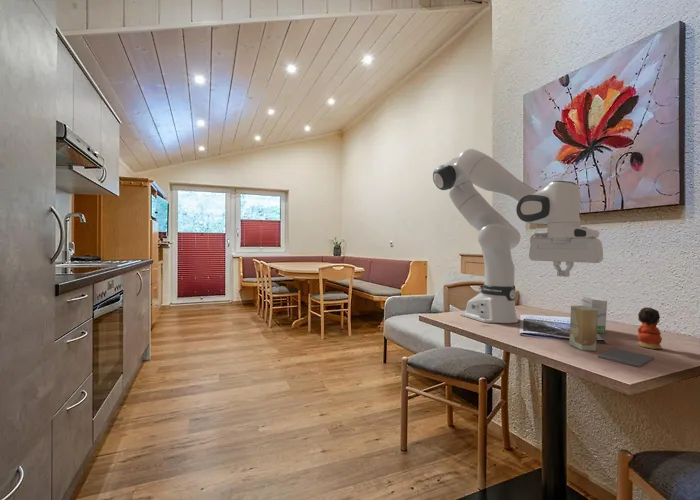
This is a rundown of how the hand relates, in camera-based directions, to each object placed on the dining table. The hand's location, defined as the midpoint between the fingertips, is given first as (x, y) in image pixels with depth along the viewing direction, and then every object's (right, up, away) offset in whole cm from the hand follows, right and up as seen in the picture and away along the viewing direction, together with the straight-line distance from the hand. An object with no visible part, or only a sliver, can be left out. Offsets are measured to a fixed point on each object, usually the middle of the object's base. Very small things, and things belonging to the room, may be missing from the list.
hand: (563, 276), depth 106 cm
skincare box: (+3, -21, -4) cm, 22 cm away
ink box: (+21, -21, +16) cm, 34 cm away
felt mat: (+9, -22, -13) cm, 27 cm away
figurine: (+24, -22, -3) cm, 33 cm away
